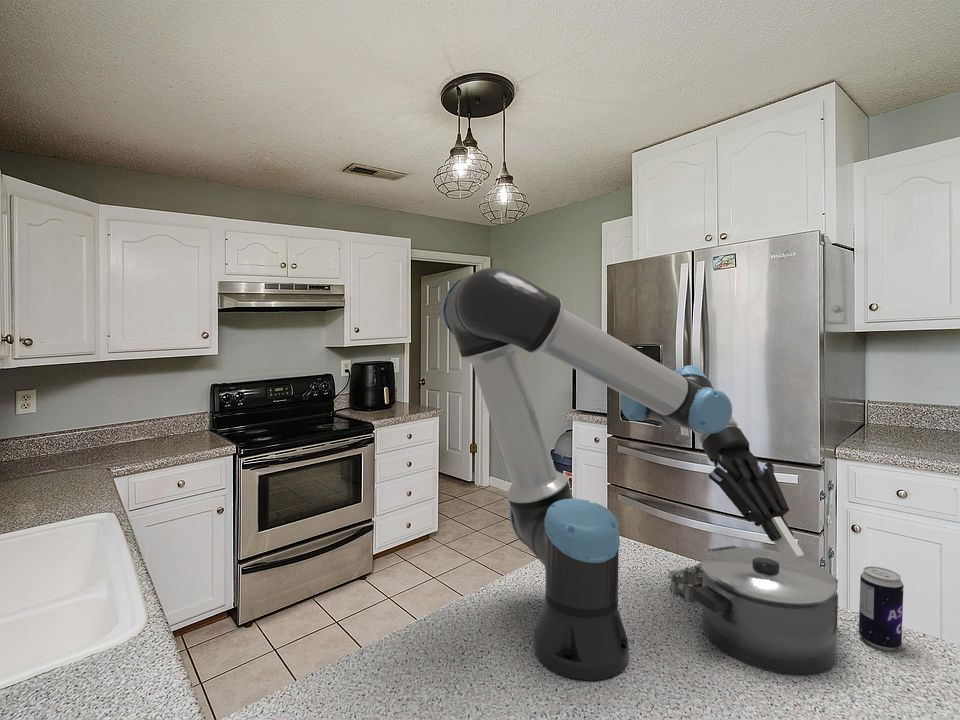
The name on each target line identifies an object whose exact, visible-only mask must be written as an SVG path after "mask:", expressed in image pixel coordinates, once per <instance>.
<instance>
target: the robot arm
mask: <svg viewBox="0 0 960 720" xmlns="http://www.w3.org/2000/svg"><path fill="white" fill-rule="evenodd" d="M442 302H443V303H442V308H441V309H442V311H441V312H442V318H443V321H444V323H445V325H446V327H447V329H448V330H449V332H450V333H451V334H452V335H454V339H455V343H456V345H457V348H458V351H459V354H460V357H461V359H463V360H465V361H467V362H469V363H470V364H472V367H473V370H474V373H475V376H476V378H477V379H476V380H477V381H478V384H479V387H480V391H481V394H482V397H483V400H484V403H485V406H486V408H487V413H488V416H489V419H490V421H491V424H492V427H493V431H494V433H495V437H496V440H497V443H498V446H499V449H500V452H501V455H502V458H503V461H504V464H505V467H506V471H507V473H508V476H509V479H510V483H511V485H510V487H509V488H508V490H507V493H506V496H507V499H508V502H509V506H510V507H509V520H510V523H511V527H512V529H513V531H514V533H515V535H516V537H517V538H518V539H519V541H521V542H522V543H523V545H525V546H526V547H527V548H528V549H529V550H530V552H532V553H533V554H534V556H535V557H536V558H537V559H538V560H539V561H540V563H541V564H543V566H544V570H545V575H544V578H545V579H544V580H545V583H544V584H545V587H544V588H545V600H544V603H543V607H542V610H541V613H540V615H539V619H538V622H537V625H536V628H535V630H534V652H535V655H536V657H537V659H538V660H539V661H540V662H541V663H542V664H543V666H545V667H547V668H548V669H549V670H550V671H552V672H555V673H557V674H559V675H561V676H564V677H566V678H569V679H574V680H581V681H601V680H606V679H609V678H612V677H614V676H615V677H616V676H617V675H619V674H620V673H621V672H622V671H624V670H625V669H626V667H627V665H628V663H629V656H630V655H629V653H630V650H629V649H630V645H629V639H628V636H627V633H626V630H625V626H624V623H623V620H622V617H621V613H620V611H619V563H620V562H619V561H620V560H619V558H620V557H619V553H620V551H619V549H620V543H621V539H620V533H619V532H620V531H619V523H618V521H617V518H616V515H614V513H613V512H611V510H610V509H608V508H607V507H605V506H604V505H602V504H601V503H600V504H599V503H597V502H590V500H586V499H581V498H574V496H573V494H572V491H571V487H570V484H569V482H568V481H569V480H568V478H567V476H566V475H565V474H564V473H563V472H559V471H557V469H556V467H555V464H554V461H553V457H552V454H551V451H550V448H549V444H548V442H547V438H546V435H545V432H544V429H543V425H542V422H541V419H540V416H539V413H538V410H537V406H536V404H535V400H534V397H533V394H532V389H531V388H530V384H529V381H528V378H527V375H526V372H525V368H524V365H523V362H522V359H521V356H520V353H519V348H521V349H523V350H524V351H526V352H528V353H531V354H533V353H536V352H541V353H544V354H546V355H547V356H549V357H551V358H553V359H555V360H557V361H559V362H561V363H563V364H564V365H566V366H568V367H571V368H572V369H574V370H576V371H578V372H579V373H582V374H583V375H585V376H587V377H588V378H589V377H590V378H591V379H593V380H595V381H597V382H599V383H601V384H602V385H604V386H606V387H608V388H610V389H612V390H614V391H616V392H617V393H619V406H620V410H621V411H622V414H623V415H624V417H625V418H626V419H628V420H630V421H641V422H643V421H647V420H649V421H650V420H652V421H655V422H659V423H664V424H667V425H673V426H677V427H680V428H685V429H687V430H690V431H692V432H693V433H694V435H695V437H696V438H697V440H698V441H699V443H700V444H701V445H702V447H701V448H702V449H703V451H704V453H705V454H706V455H707V457H708V460H709V461H710V462H711V463H713V465H714V467H715V468H714V469H713V470H712V471H711V472H710V473H709V474H708V478H709V479H710V480H711V481H713V483H715V484H716V485H717V486H718V487H720V489H721V490H722V492H724V494H725V495H726V496H727V498H728V499H729V501H730V502H732V504H733V505H734V506H735V507H736V508H737V510H738V512H739V513H740V514H741V515H742V516H743V518H744V519H745V520H746V521H747V522H750V523H751V522H754V523H753V524H754V525H755V526H756V527H761V528H763V530H764V532H765V534H766V535H767V537H768V539H769V540H770V541H771V542H773V543H774V545H775V546H776V548H777V550H778V552H780V553H781V555H782V556H783V558H784V560H785V561H786V563H787V562H793V561H795V560H797V559H798V558H802V557H803V556H805V554H804V552H803V550H802V549H801V547H800V546H799V544H798V542H797V541H796V540H795V538H794V533H793V531H792V529H791V528H790V526H789V525H788V523H787V522H786V520H785V517H784V516H785V515H786V514H787V513H789V511H790V507H789V505H788V504H787V501H786V497H785V496H784V495H783V491H782V490H781V487H780V485H779V482H778V480H777V478H776V476H775V471H774V465H773V463H771V462H770V461H768V462H766V463H763V462H761V461H759V460H758V458H757V456H755V455H754V454H753V453H752V452H751V451H750V442H749V441H748V438H747V437H746V436H745V434H744V433H743V431H742V430H741V428H740V427H738V426H739V425H738V423H737V421H736V419H735V418H734V417H733V416H732V414H733V405H732V402H731V399H730V398H729V396H728V395H727V394H726V393H725V392H723V391H721V390H719V389H715V388H714V387H713V385H712V383H711V381H710V379H709V378H708V377H707V376H706V375H705V373H704V372H703V371H702V369H701V368H699V367H697V366H695V365H685V366H682V367H681V368H680V367H679V368H677V369H675V370H673V369H670V368H669V367H667V366H665V365H663V364H661V363H660V362H658V361H656V360H654V359H653V358H651V357H649V356H647V355H646V354H644V353H642V352H640V351H639V350H637V349H636V348H633V347H631V346H630V345H628V344H626V343H624V341H623V342H622V341H621V340H619V339H617V338H616V337H614V336H612V335H610V334H609V333H607V332H606V331H603V330H602V329H601V328H598V327H597V326H594V325H593V324H591V323H590V322H587V321H586V320H585V319H583V318H581V317H578V315H576V314H574V313H572V312H570V311H568V310H566V309H565V308H564V305H563V301H562V300H561V298H559V297H557V296H555V295H554V294H552V293H551V292H548V291H547V290H545V289H544V288H542V287H540V286H538V285H536V284H535V283H533V282H531V281H530V280H529V279H526V278H524V277H522V276H520V275H519V274H517V273H515V272H512V271H510V270H507V269H504V268H498V267H485V268H483V269H479V270H477V271H475V272H473V273H472V274H469V275H465V277H461V278H459V279H458V280H457V281H455V282H454V283H453V284H452V285H451V286H450V287H449V289H448V290H447V292H446V294H445V297H444V299H443V301H442Z"/></svg>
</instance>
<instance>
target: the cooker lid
mask: <svg viewBox="0 0 960 720" xmlns="http://www.w3.org/2000/svg"><path fill="white" fill-rule="evenodd" d="M701 563H702V570H703V572H704V574H705V575H706V576H707V577H708V578H709V579H710V580H712V581H713V582H714V583H716V584H718V585H719V586H721V587H723V588H725V589H727V590H730V591H732V592H734V593H737V594H740V595H743V596H746V597H749V598H753V599H757V600H761V601H766V602H771V603H777V604H786V605H814V604H820V603H824V602H827V601H829V600H831V599H833V598H834V597H835V596H836V593H837V594H838V585H837V582H836V579H837V578H835V576H834V575H833V574H832V573H830V572H829V570H827V569H825V568H824V567H822V566H820V565H818V564H816V563H814V562H813V561H809V560H807V559H805V558H803V557H800V558H798V559H797V560H795V561H793V562H787V563H786V561H785V560H784V558H783V556H782V555H781V553H780V551H779V550H778V551H777V550H773V549H767V548H760V547H750V546H748V547H747V546H736V545H729V546H721V547H715V548H708V549H707V552H706V553H704V555H703V556H702V558H701Z"/></svg>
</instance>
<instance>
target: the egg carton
mask: <svg viewBox="0 0 960 720" xmlns="http://www.w3.org/2000/svg"><path fill="white" fill-rule="evenodd" d="M666 578H667V579H668V580H670V588H671V589H670V590H671V592H673V593H674V594H682V595H684V599H685V600H687V601H692V602H693V601H694V602H698V601H697V600H695V599H694V598H693V588H698V587H702V586H703V570H702V562H699V563H698V564H695V565H694V566H689V567H688V566H686V567H684V568H681V569H679V570H671V571H669V572H668V574H667V577H666ZM698 603H699V602H698Z"/></svg>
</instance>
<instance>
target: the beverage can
mask: <svg viewBox="0 0 960 720" xmlns="http://www.w3.org/2000/svg"><path fill="white" fill-rule="evenodd" d="M859 581H860V583H859V584H860V585H859V586H860V587H859V612H858V613H859V614H858V616H859V617H858V619H859V620H858V634H859V635H860V636H861V638H862V639H863V640H864V641H865V643H867V644H868V645H870V646H871V647H874V648H877V649H879V650H884V651H894V650H895V649H898V648H899V647H901V646H902V643H903V642H902V641H903V639H902V638H903V637H902V635H903V615H904V614H903V611H904V587H905V586H904V584H903V581H902V580H901V575H900V574H899V573H898V572H896V571H894V570H892V569H891V570H890V569H887V568H884V567H880V566H865V567H863V571H862V573H861V574H860V579H859Z"/></svg>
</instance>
